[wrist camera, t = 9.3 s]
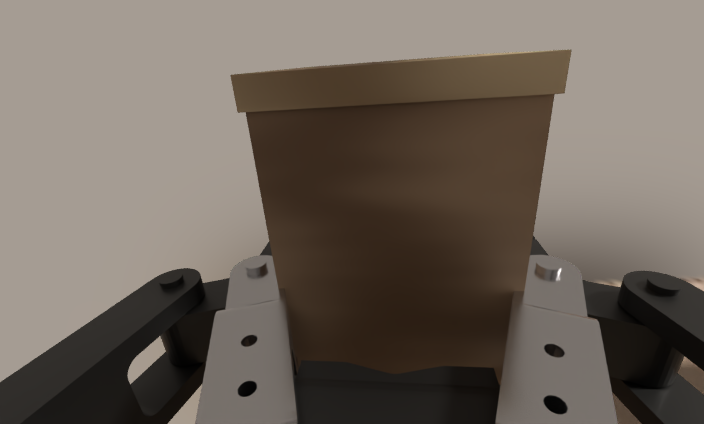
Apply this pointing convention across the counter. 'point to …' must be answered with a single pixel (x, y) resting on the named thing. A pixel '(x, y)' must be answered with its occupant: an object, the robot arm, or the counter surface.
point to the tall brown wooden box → (402, 201)
